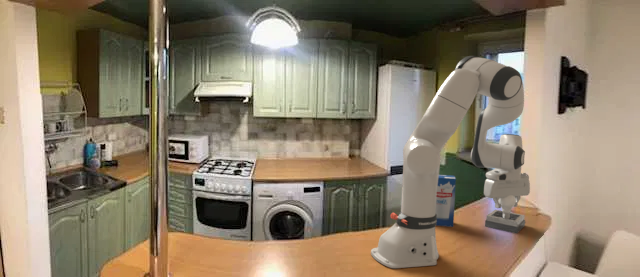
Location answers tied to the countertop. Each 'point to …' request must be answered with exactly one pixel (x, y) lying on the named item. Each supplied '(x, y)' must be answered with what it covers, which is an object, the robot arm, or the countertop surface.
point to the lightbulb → (507, 205)
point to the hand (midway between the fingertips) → (506, 207)
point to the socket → (505, 221)
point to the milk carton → (445, 200)
